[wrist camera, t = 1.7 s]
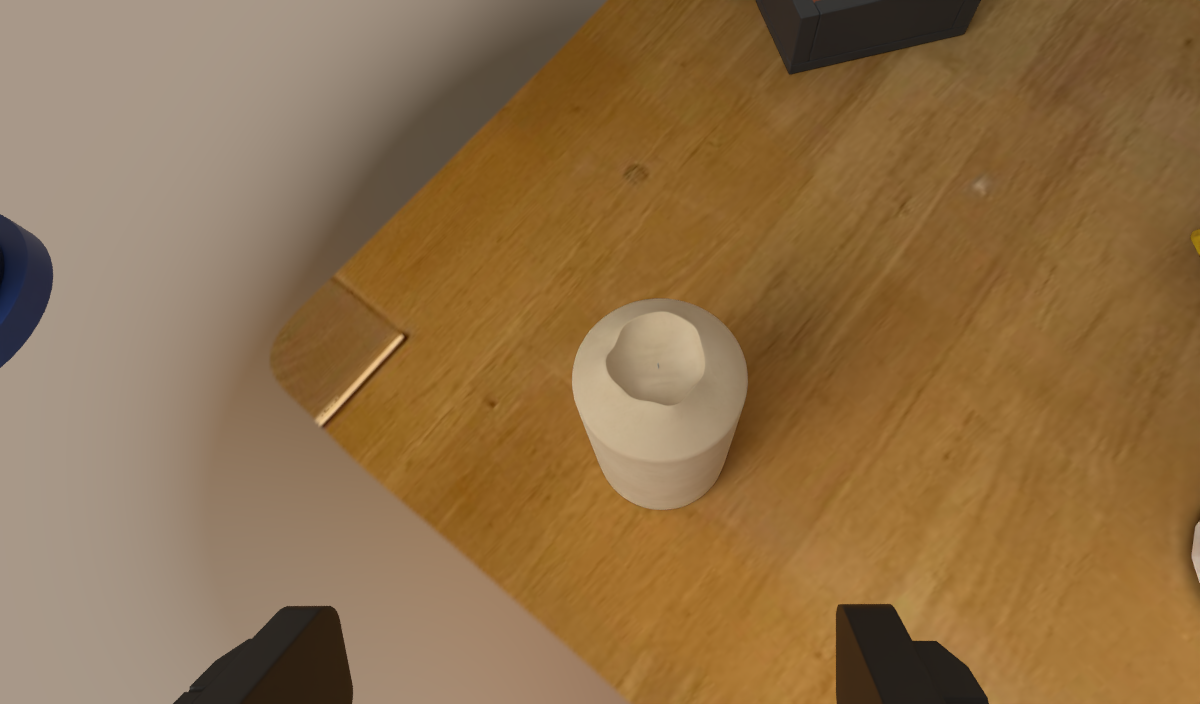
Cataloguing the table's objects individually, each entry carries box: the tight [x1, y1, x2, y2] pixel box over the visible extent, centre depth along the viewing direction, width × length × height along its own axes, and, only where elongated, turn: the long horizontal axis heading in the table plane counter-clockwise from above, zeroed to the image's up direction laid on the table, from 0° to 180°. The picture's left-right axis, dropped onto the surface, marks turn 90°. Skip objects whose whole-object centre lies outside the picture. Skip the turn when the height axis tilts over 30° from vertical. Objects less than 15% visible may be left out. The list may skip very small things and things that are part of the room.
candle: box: [572, 298, 748, 510], centre depth 23 cm, size 6×6×10 cm
